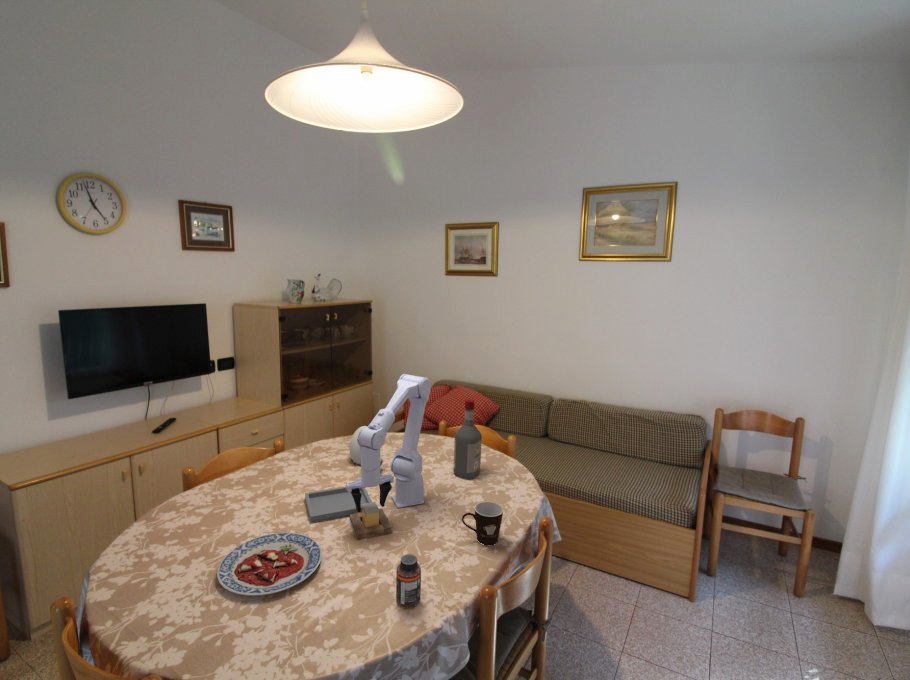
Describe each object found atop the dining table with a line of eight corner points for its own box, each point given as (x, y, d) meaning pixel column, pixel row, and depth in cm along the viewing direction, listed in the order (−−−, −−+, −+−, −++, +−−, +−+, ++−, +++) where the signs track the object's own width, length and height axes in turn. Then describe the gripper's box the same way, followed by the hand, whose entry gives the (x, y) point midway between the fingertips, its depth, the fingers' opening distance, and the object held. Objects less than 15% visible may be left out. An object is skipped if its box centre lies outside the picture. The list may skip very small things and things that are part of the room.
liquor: (482, 472, 183) (485, 400, 178) (470, 481, 176) (474, 405, 171) (462, 466, 188) (465, 395, 183) (450, 474, 180) (453, 401, 176)
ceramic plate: (259, 618, 105) (258, 607, 105) (196, 576, 119) (196, 565, 118) (342, 560, 127) (342, 550, 126) (281, 529, 140) (281, 520, 140)
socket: (382, 513, 151) (382, 508, 150) (392, 532, 140) (392, 527, 140) (349, 519, 146) (349, 514, 146) (357, 539, 136) (357, 534, 136)
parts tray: (362, 489, 166) (362, 483, 166) (373, 511, 152) (373, 505, 151) (305, 499, 158) (305, 493, 158) (310, 523, 144) (310, 516, 143)
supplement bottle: (396, 592, 115) (397, 551, 113) (420, 591, 115) (421, 550, 114) (395, 610, 109) (396, 566, 107) (420, 609, 110) (421, 566, 108)
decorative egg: (376, 468, 184) (376, 432, 182) (346, 466, 184) (346, 431, 182) (381, 455, 196) (382, 421, 194) (353, 454, 196) (353, 420, 194)
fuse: (374, 520, 147) (375, 501, 146) (379, 529, 142) (379, 509, 141) (361, 523, 145) (361, 504, 144) (365, 532, 140) (365, 512, 139)
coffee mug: (504, 535, 141) (506, 504, 140) (497, 550, 133) (499, 519, 131) (468, 526, 145) (469, 497, 143) (459, 541, 137) (461, 510, 135)
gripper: (388, 457, 147) (387, 497, 149) (343, 465, 140) (343, 507, 142) (396, 466, 141) (395, 507, 143) (350, 475, 134) (350, 518, 136)
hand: (370, 508), depth 142 cm, fingers open, 7 cm apart
